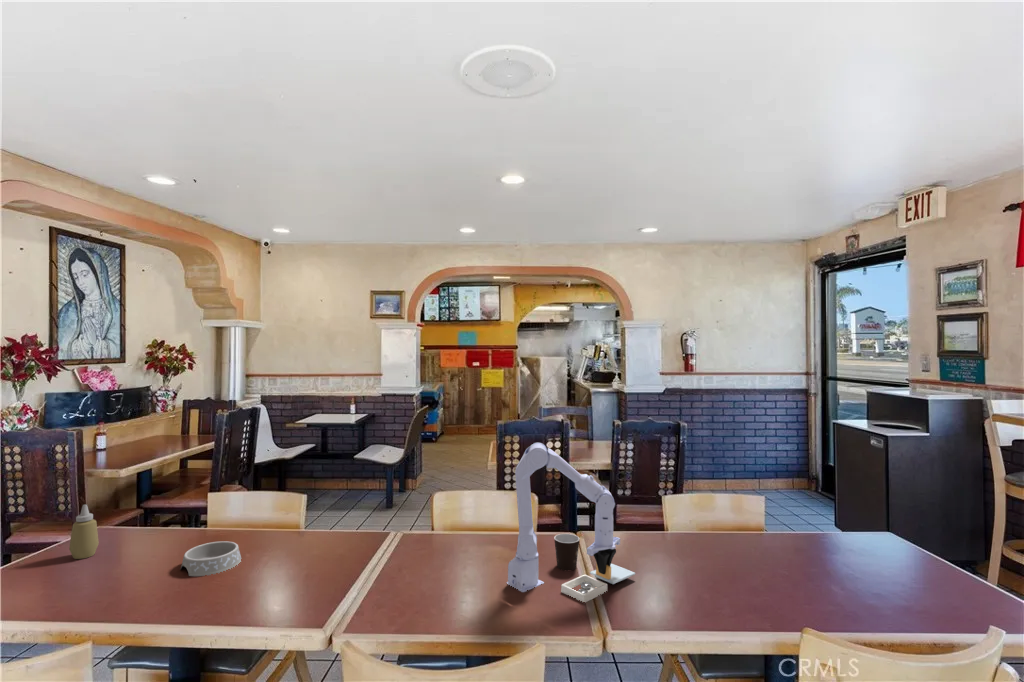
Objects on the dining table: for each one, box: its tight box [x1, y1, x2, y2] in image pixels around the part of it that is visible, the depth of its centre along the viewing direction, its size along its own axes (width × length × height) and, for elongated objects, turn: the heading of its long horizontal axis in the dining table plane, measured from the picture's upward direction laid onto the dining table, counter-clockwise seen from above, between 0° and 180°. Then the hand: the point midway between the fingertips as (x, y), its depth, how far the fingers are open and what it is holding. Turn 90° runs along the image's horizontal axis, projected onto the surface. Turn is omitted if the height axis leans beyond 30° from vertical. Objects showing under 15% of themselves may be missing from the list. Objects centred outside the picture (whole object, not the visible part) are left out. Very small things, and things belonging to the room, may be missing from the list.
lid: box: [589, 562, 636, 585], centre depth 167 cm, size 11×9×5 cm
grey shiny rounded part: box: [581, 582, 591, 590], centre depth 162 cm, size 3×3×1 cm
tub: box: [560, 574, 608, 603], centre depth 159 cm, size 11×9×3 cm
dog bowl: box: [179, 540, 242, 577], centre depth 177 cm, size 17×18×5 cm
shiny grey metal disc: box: [578, 589, 588, 594], centre depth 157 cm, size 3×3×1 cm
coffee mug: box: [553, 533, 581, 572], centre depth 178 cm, size 12×9×10 cm
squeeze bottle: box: [68, 504, 100, 560], centre depth 183 cm, size 8×8×18 cm
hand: (603, 572), depth 164 cm, fingers closed on lid
